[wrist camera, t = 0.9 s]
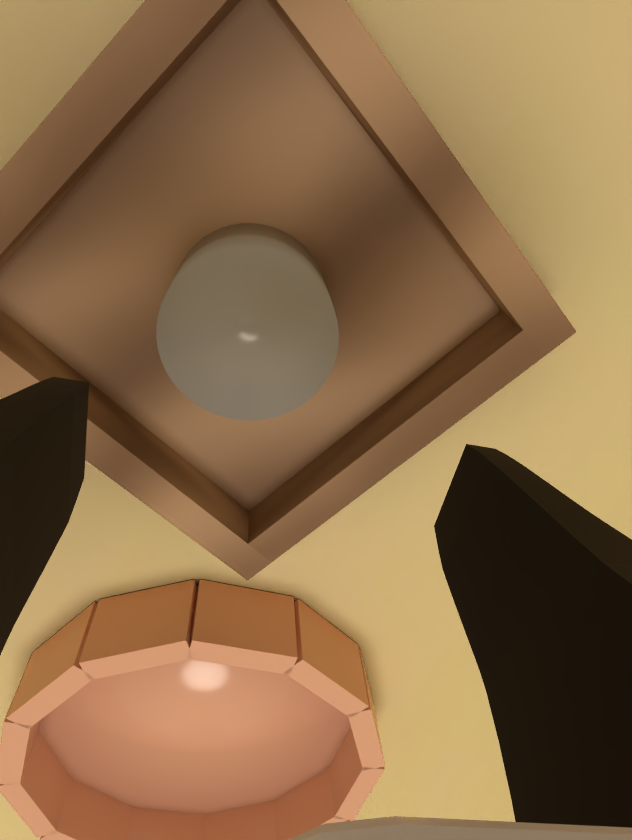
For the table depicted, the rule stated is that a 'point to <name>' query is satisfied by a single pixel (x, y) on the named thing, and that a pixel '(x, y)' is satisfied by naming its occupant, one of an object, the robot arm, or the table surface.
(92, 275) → the parts tray
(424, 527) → the table surface
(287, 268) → the cylinder
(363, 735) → the bowl
